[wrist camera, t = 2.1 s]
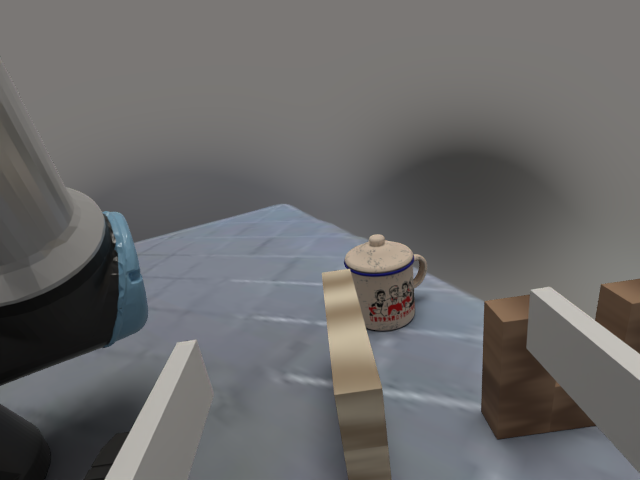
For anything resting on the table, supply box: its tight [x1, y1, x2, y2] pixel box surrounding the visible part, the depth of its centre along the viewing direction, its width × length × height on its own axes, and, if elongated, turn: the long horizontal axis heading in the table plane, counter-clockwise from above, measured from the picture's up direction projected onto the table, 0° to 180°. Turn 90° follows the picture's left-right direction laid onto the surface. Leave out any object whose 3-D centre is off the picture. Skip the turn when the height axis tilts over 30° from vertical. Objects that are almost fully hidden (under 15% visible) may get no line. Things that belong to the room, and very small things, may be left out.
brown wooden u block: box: [481, 279, 640, 439], centre depth 30 cm, size 14×3×12 cm, turn 92°
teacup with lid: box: [344, 234, 427, 331], centre depth 49 cm, size 12×9×12 cm
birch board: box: [322, 269, 391, 480], centre depth 33 cm, size 17×3×12 cm, turn 2°
